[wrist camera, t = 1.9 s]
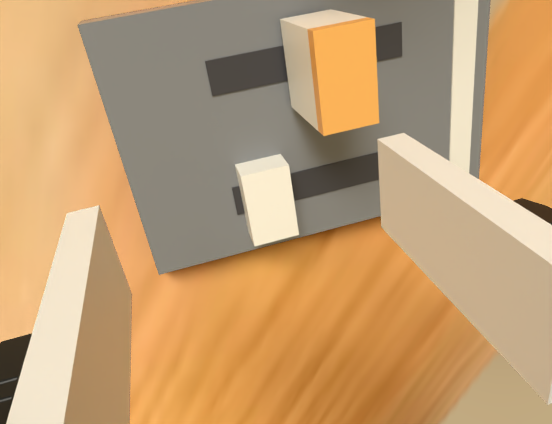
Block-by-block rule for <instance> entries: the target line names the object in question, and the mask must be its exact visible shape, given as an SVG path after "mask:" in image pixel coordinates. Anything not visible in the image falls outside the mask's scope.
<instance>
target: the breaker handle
mask: <svg viewBox="0 0 552 424" xmlns="http://www.w3.org/2000/svg"><path fill="white" fill-rule="evenodd" d="M280 24H281V31H282V39H283V46H284V54H285V62H286V69H287V77H288V84H289V92H290V99H291V107H292V108H293V109H294V110H295V111H297V112H298V113H299V114H300V115H301V116H302V117H303V118H304V119H305V120H306V121H308V122H309V123H310V124H311V125H312V126H313V127H314V128H315V129H316V130H317V131H319V132H320V133H321V134H322V135H323V136H326V135H330V134H335V133H339V132H343V131H348V130H352V129H356V128H360V127H365V126H369V125H373V124H378V123H379V104H378V80H377V57H376V34H375V19H373V18H369V17H364V16H360V15H355V14H350V13H346V12H341V11H337V10H332V9H330V10H325V11H319V12H314V13H309V14H304V15H298V16H293V17H288V18H283V19H280Z"/></svg>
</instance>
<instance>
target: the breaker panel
mask: <svg viewBox="0 0 552 424" xmlns="http://www.w3.org/2000/svg"><path fill="white" fill-rule="evenodd" d="M330 9H332V10H337V11H341V12H346V13H350V14H355V15H360V16H364V17H369V18H373V19H375V34H376V57H377V80H378V104H379V123H378V124H373V125H369V126H365V127H360V128H356V129H352V130H348V131H343V132H339V133H335V134H330V135H326V136H323V135H322V134H321V133H320V132H319V131H317V130H316V129H315V128H314V127H313V126H312V125H311V124H310V123H309V122H308V121H306V120H305V119H304V118H303V117H302V116H301V115H300V114H299V113H298V112H297V111H295V110H294V109H293V108H292V107H291V99H290V92H289V84H288V77H287V69H286V62H285V54H284V46H283V39H282V31H281V24H280V19H283V18H288V17H293V16H298V15H304V14H309V13H314V12H319V11H325V10H330ZM489 14H490V0H195V1H189V2H184V3H178V4H173V5H167V6H162V7H156V8H151V9H145V10H140V11H134V12H129V13H123V14H117V15H112V16H106V17H101V18H95V19H90V20H84V21H81V22H80V23H79V24H78V28H79V31H80V34H81V37H82V40H83V43H84V46H85V49H86V52H87V55H88V58H89V62H90V65H91V68H92V71H93V74H94V77H95V80H96V83H97V86H98V89H99V92H100V95H101V98H102V101H103V105H104V108H105V111H106V114H107V117H108V120H109V123H110V126H111V129H112V132H113V135H114V138H115V141H116V144H117V147H118V151H119V154H120V157H121V160H122V163H123V166H124V169H125V172H126V175H127V178H128V181H129V184H130V187H131V190H132V193H133V197H134V200H135V203H136V206H137V209H138V212H139V215H140V218H141V221H142V224H143V227H144V230H145V233H146V236H147V239H148V243H149V246H150V249H151V252H152V255H153V258H154V261H155V264H156V267H157V270H158V273H159V275H160V274H164V273H167V272H171V271H175V270H179V269H183V268H186V267H190V266H194V265H198V264H201V263H205V262H209V261H213V260H217V259H220V258H224V257H228V256H232V255H235V254H239V253H243V252H247V251H251V250H254V249H258V248H262V247H266V246H269V245H273V244H277V243H281V242H285V241H288V240H292V239H296V238H300V237H303V236H307V235H311V234H315V233H319V232H322V231H326V230H330V229H334V228H337V227H341V226H345V225H349V224H353V223H356V222H360V221H364V220H368V219H371V218H375V217H379V216H381V208H380V186H379V165H378V143H377V139H380V138H384V137H388V136H392V135H396V134H401V133H405V134H407V135H408V136H410V137H411V138H413V139H415V140H416V141H418V142H419V143H421V144H423V145H424V146H426V147H427V148H429V149H431V150H432V151H434V152H435V153H437V154H439V155H440V156H442V157H443V158H445V159H447V160H448V161H450V162H451V163H453V164H455V165H456V166H458V167H459V168H461V169H463V170H464V171H466V172H468V173H469V174H471V175H472V176H474V177H476V178H477V179H479V168H480V152H481V137H482V122H483V106H484V91H485V76H486V60H487V45H488V30H489Z"/></svg>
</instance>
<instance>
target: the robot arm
mask: <svg viewBox="0 0 552 424" xmlns="http://www.w3.org/2000/svg"><path fill="white" fill-rule="evenodd" d="M377 143H378V165H379V186H380V208H381V227H382V228H383V229H384V230H385V232H386V233H387V234H388V235H389V236H390V237H391V238H392V239H393V240H394V241H395V242H396V243H397V244H398V245H399V246H400V248H401V249H402V250H403V251H404V252H405V253H406V254H407V255H408V256H409V257H410V258H411V259H412V260H413V261H414V263H415V264H416V265H417V266H418V267H419V268H420V269H421V270H422V271H423V272H424V273H425V274H426V275H427V276H428V277H429V279H430V280H431V281H432V282H433V283H434V284H435V285H436V286H437V287H438V288H439V289H440V290H441V291H442V292H443V294H444V295H445V296H446V297H447V298H448V299H449V300H450V301H451V302H452V303H453V304H454V305H455V306H456V307H457V308H458V310H459V311H460V312H461V313H462V314H463V315H464V316H465V317H466V318H467V319H468V320H469V321H470V322H471V323H472V325H473V326H474V327H475V328H476V329H477V330H478V331H479V332H480V333H481V334H482V335H483V336H484V337H485V338H486V339H487V341H488V342H489V343H490V344H491V345H492V346H493V347H494V348H495V349H496V350H497V351H498V352H499V353H500V354H501V356H502V357H503V358H504V359H505V360H506V361H507V362H508V363H509V364H510V365H511V366H512V367H513V368H514V369H515V370H516V371H517V373H518V374H519V375H520V376H521V377H522V378H523V379H524V380H525V381H526V382H527V383H528V384H529V385H530V386H531V388H532V389H533V390H534V391H535V392H536V393H537V394H538V395H539V396H540V397H541V398H542V399H543V400H544V401H545V403H546V404H547V405H548V404H551V403H552V209H551V208H550V207H548V206H545V205H542V204H539V203H535V202H532V201H529V200H526V199H522V198H521V199H518V200H514V201H512V200H511V199H509V198H508V197H506V196H504V195H503V194H501V193H500V192H498V191H496V190H495V189H493V188H492V187H490V186H488V185H487V184H485V183H484V182H482V181H480V180H479V179H477V178H476V177H474V176H472V175H471V174H469V173H468V172H466V171H464V170H463V169H461V168H459V167H458V166H456V165H455V164H453V163H451V162H450V161H448V160H447V159H445V158H443V157H442V156H440V155H439V154H437V153H435V152H434V151H432V150H431V149H429V148H427V147H426V146H424V145H423V144H421V143H419V142H418V141H416V140H415V139H413V138H411V137H410V136H408V135H407V134H405V133H401V134H396V135H392V136H388V137H384V138H380V139H377ZM131 320H132V293H131V290H130V287H129V285H128V282H127V279H126V277H125V274H124V271H123V268H122V266H121V263H120V260H119V258H118V255H117V252H116V249H115V247H114V244H113V241H112V239H111V236H110V233H109V230H108V228H107V225H106V222H105V220H104V217H103V214H102V212H101V209H100V206H95V207H91V208H86V209H82V210H78V211H74V212H70V213H67V215H66V218H65V222H64V225H63V229H62V232H61V236H60V239H59V243H58V246H57V250H56V253H55V256H54V260H53V263H52V267H51V270H50V274H49V277H48V281H47V284H46V287H45V291H44V294H43V298H42V301H41V305H40V308H39V312H38V315H37V319H36V322H35V325H34V329H33V332H32V334H28V335H25V336H21V337H17V338H14V339H10V340H6V341H3V342H1V343H0V424H130V373H131Z"/></svg>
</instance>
